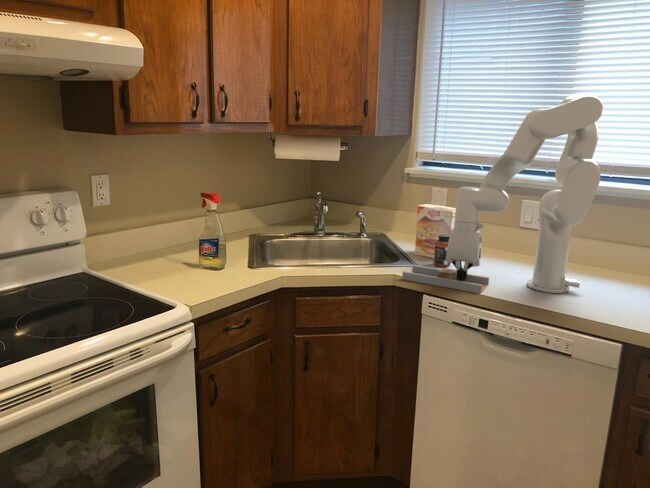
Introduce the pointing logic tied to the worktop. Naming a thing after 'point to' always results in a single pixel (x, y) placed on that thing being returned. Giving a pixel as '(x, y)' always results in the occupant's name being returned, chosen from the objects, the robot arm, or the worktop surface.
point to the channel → (431, 277)
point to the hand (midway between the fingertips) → (461, 281)
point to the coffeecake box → (432, 227)
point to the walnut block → (447, 273)
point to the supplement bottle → (441, 251)
